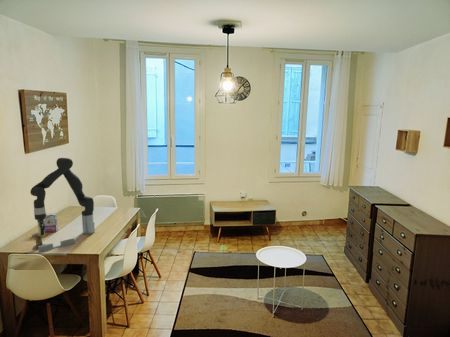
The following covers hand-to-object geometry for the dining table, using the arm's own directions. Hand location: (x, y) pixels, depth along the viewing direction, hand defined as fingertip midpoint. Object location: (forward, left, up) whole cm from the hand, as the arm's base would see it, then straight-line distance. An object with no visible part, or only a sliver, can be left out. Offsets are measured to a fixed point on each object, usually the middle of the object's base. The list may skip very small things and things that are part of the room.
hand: (41, 233), depth 249 cm
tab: (0, 0, -1) cm, 1 cm away
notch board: (-10, -2, -15) cm, 18 cm away
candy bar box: (-14, -42, -15) cm, 47 cm away
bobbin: (+1, -10, -15) cm, 18 cm away
